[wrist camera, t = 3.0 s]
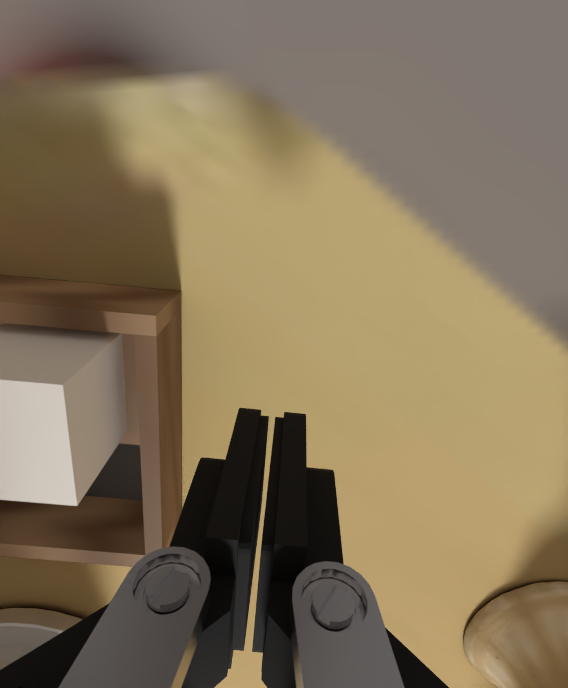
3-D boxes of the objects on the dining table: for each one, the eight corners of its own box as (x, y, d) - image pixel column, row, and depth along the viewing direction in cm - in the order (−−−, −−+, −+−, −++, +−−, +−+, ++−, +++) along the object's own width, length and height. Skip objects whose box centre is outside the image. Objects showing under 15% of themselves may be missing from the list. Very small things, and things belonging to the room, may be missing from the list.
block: (121, 333, 15) (62, 385, 11) (127, 430, 16) (77, 506, 12) (6, 322, 15) (-92, 371, 11) (23, 421, 16) (-59, 494, 12)
